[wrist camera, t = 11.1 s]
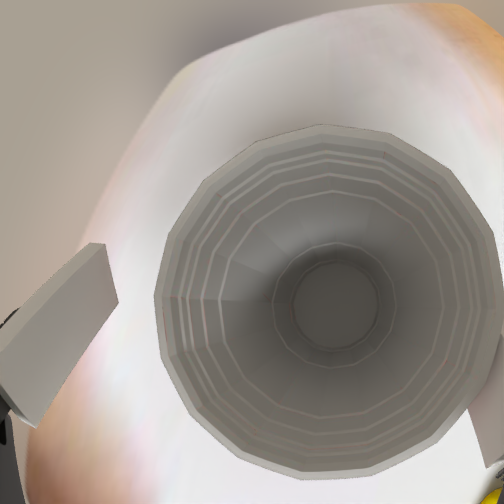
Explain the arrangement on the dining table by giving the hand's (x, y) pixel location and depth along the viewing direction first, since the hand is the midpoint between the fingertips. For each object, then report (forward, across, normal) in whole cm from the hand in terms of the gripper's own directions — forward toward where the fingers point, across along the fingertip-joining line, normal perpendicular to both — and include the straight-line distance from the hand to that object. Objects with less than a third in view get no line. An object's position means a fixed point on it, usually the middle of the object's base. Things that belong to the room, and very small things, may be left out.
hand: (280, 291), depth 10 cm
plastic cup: (+7, +4, -6) cm, 10 cm away
